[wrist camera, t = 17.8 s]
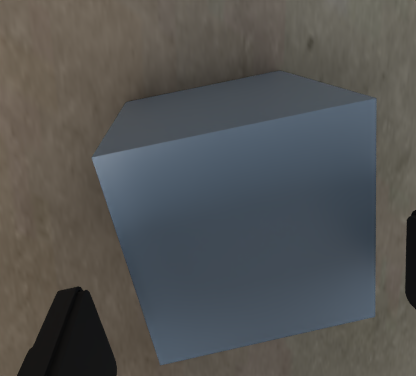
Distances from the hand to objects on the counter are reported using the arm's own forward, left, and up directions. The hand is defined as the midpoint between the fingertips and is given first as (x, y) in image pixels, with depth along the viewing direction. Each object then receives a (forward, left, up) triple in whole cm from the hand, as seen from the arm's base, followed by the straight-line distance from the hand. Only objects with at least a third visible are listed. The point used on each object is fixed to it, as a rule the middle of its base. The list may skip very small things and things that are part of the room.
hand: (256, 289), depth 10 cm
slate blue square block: (+1, 0, -10) cm, 10 cm away
